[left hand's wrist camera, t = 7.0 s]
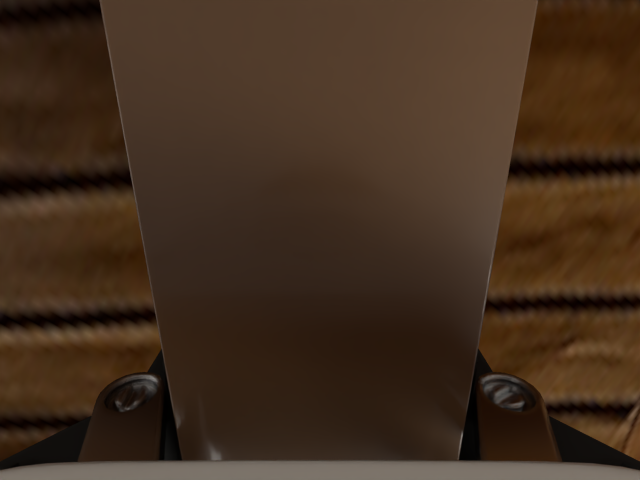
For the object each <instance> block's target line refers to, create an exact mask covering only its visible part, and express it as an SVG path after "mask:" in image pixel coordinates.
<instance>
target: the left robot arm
mask: <svg viewBox="0 0 640 480" xmlns="http://www.w3.org/2000/svg"><path fill="white" fill-rule="evenodd" d="M0 480H640V461H638V460H636V459H634V458H632V457H630V456H628V455H626V454H624V453H622V452H620V451H618V450H616V449H614V448H612V447H610V446H608V445H606V444H604V443H602V442H600V441H598V440H596V439H594V438H592V437H590V436H588V435H586V434H584V433H582V432H580V431H578V430H576V429H574V428H572V427H570V426H568V425H566V424H564V423H562V422H560V421H558V420H556V419H554V418H552V417H550V416H548V413H547V410H546V407H545V403H544V400H543V398H542V396H541V394H540V393H539V392H538V390H537V389H536V388H535V387H534V386H532V385H531V384H530V383H528V382H527V381H525V380H523V379H521V378H519V377H517V376H514V375H511V374H507V373H501V372H492V370H491V368H490V367H489V365H488V363H487V362H486V360H485V359H484V357H483V355H482V354H481V352H480V351H479V349H478V351H477V357H476V362H475V368H474V374H473V380H472V386H471V391H470V397H469V403H468V409H467V415H466V420H465V426H464V432H463V438H462V443H461V449H460V455H459V461H437V460H203V461H182V459H181V453H180V448H179V442H178V437H177V431H176V425H175V420H174V414H173V409H172V403H171V397H170V392H169V386H168V381H167V375H166V370H165V364H164V358H163V353H162V349H161V351H160V353H159V354H158V356H157V357H156V359H155V361H154V362H153V364H152V366H151V367H150V369H149V370H148V372H139V373H133V374H129V375H126V376H123V377H121V378H119V379H117V380H115V381H113V382H112V383H110V384H109V385H108V386H106V387H105V388H104V389H103V390H102V392H101V393H100V394H99V396H98V398H97V400H96V403H95V407H94V410H93V413H92V416H90V417H88V418H86V419H84V420H82V421H80V422H78V423H76V424H74V425H72V426H70V427H68V428H66V429H64V430H62V431H60V432H58V433H56V434H54V435H52V436H50V437H48V438H46V439H44V440H42V441H40V442H38V443H37V444H35V445H33V446H31V447H29V448H27V449H25V450H23V451H21V452H19V453H17V454H15V455H13V456H11V457H9V458H7V459H5V460H3V461H1V462H0Z"/></svg>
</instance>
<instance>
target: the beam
mask: <svg viewBox="0 0 640 480" xmlns="http://www.w3.org/2000/svg"><path fill="white" fill-rule="evenodd" d="M99 1H100V6H101V12H102V18H103V23H104V29H105V34H106V40H107V45H108V51H109V57H110V62H111V68H112V73H113V79H114V85H115V90H116V96H117V101H118V107H119V113H120V118H121V124H122V129H123V135H124V140H125V146H126V152H127V157H128V163H129V168H130V174H131V180H132V185H133V191H134V196H135V202H136V207H137V213H138V219H139V224H140V230H141V235H142V241H143V247H144V252H145V258H146V263H147V269H148V275H149V280H150V286H151V291H152V297H153V302H154V308H155V314H156V319H157V325H158V330H159V336H160V342H161V347H162V353H163V358H164V364H165V370H166V375H167V381H168V386H169V392H170V397H171V403H172V409H173V414H174V420H175V425H176V431H177V437H178V442H179V448H180V453H181V459H182V461H203V460H437V461H459V455H460V449H461V443H462V438H463V432H464V426H465V420H466V415H467V409H468V403H469V397H470V391H471V386H472V380H473V374H474V368H475V362H476V357H477V351H478V345H479V339H480V334H481V328H482V322H483V316H484V310H485V305H486V299H487V293H488V287H489V281H490V276H491V270H492V264H493V258H494V252H495V247H496V241H497V235H498V229H499V224H500V218H501V212H502V206H503V200H504V195H505V189H506V183H507V177H508V171H509V166H510V160H511V154H512V148H513V142H514V137H515V131H516V125H517V119H518V114H519V108H520V102H521V96H522V90H523V85H524V79H525V73H526V67H527V61H528V56H529V50H530V44H531V38H532V32H533V27H534V21H535V15H536V9H537V4H538V0H99Z"/></svg>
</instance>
